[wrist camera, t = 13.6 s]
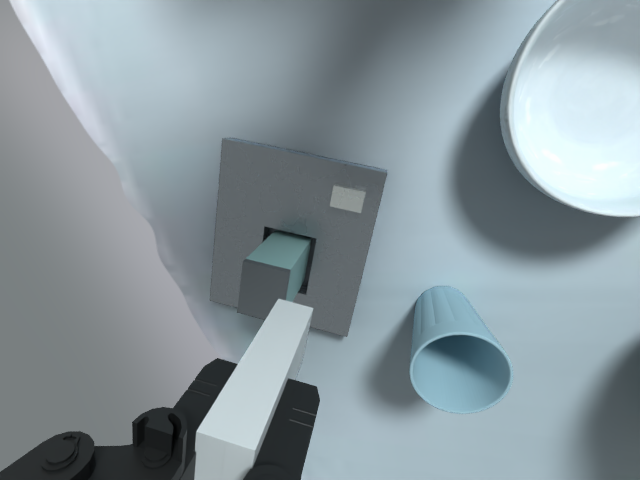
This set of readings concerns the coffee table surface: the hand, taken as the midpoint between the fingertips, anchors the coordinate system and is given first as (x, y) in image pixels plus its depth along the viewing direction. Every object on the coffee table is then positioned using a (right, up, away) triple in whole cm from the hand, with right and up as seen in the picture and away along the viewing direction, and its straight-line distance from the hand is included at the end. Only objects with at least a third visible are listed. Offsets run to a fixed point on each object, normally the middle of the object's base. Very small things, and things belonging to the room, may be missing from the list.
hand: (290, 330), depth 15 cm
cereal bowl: (+24, +16, +14) cm, 32 cm away
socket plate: (-2, +4, +23) cm, 24 cm away
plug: (-2, +2, +24) cm, 24 cm away
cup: (+14, -3, +23) cm, 27 cm away
